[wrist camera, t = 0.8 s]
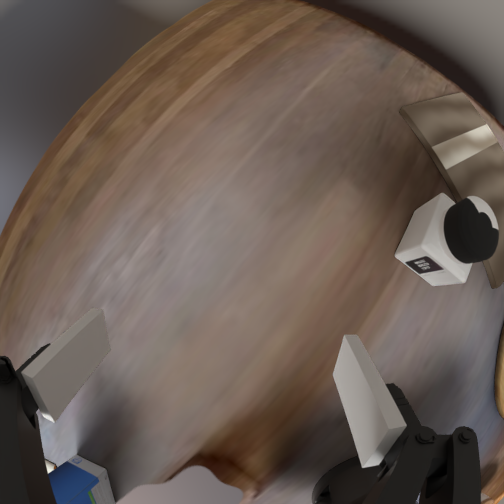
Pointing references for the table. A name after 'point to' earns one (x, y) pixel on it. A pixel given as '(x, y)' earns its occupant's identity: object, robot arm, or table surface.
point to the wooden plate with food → (500, 377)
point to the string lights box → (81, 483)
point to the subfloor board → (464, 158)
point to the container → (448, 239)
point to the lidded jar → (486, 499)
